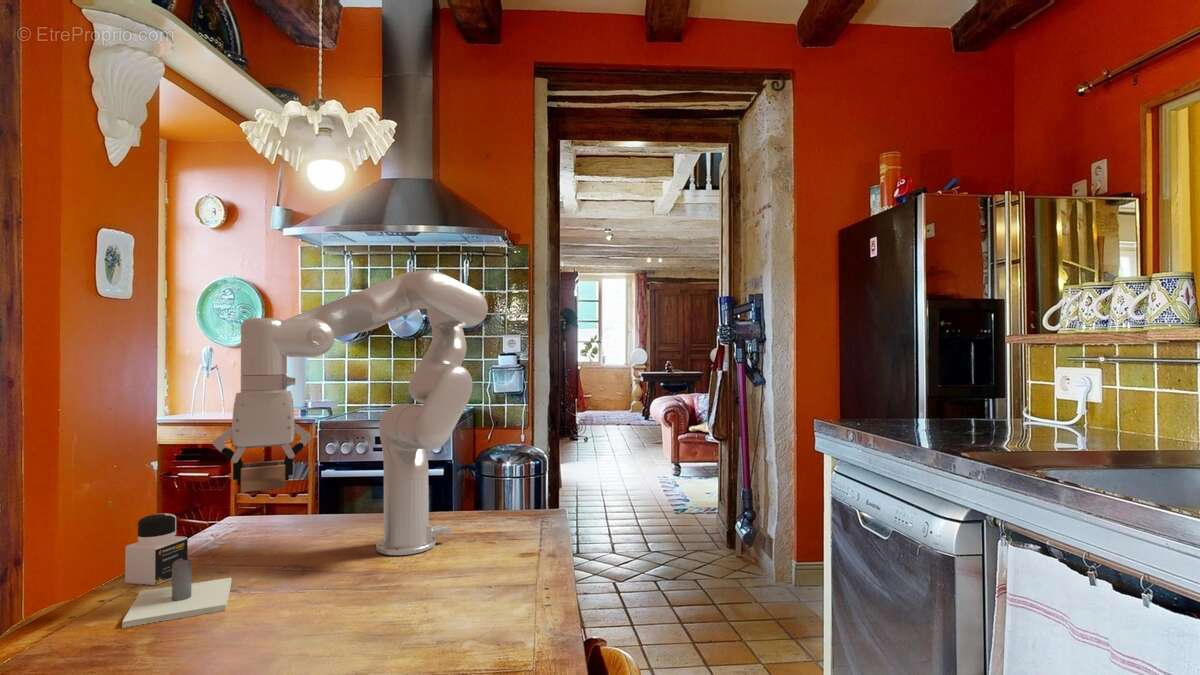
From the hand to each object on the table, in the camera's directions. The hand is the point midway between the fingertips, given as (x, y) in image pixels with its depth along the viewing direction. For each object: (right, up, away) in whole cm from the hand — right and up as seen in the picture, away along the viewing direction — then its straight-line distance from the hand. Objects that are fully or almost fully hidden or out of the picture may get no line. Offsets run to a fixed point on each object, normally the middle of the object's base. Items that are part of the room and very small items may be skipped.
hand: (263, 480), depth 114 cm
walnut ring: (0, -1, 0) cm, 1 cm away
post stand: (-10, -20, -7) cm, 23 cm away
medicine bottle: (-24, -20, +5) cm, 32 cm away
